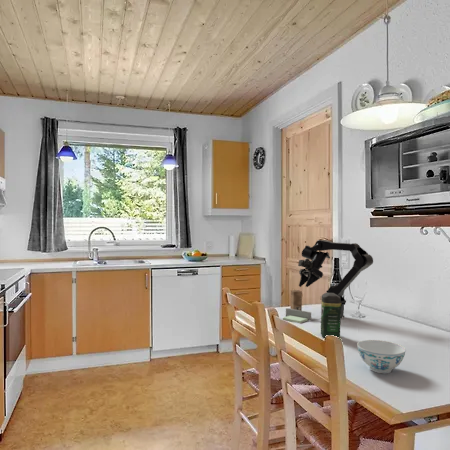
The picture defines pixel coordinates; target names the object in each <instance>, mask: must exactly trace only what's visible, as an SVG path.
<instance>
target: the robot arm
mask: <svg viewBox="0 0 450 450" xmlns="http://www.w3.org/2000/svg"><path fill="white" fill-rule="evenodd" d="M332 250H335V251H345V252H346V251H348V252H350V253H351V256H352V257H353V259H354V261H353V265H352V267H351V268H350V270H348V272H347V273H346V274H345V275H344V277H342V279H341V280H340V281H339V282H338V283H337V285H330V287H329V288H328V289H327V290H326V291H325V293H335V294H336V295H338V296H339V297H340V298H341V319H343V318H345V317H346V316H345V315H344V307H345V305H346V303H347V300H346V299H345V298H344V295H345V290H347V288H348V287H349V286H350V285H351V284H352V283H353V282H354V280H356V278H357V277H358V275H360V273H362V272H363V271H365V270H366V269H368V268H369V267H370V266H371V265H373V263H374V258H373V256H372V255H371V254H369V253H368V252H367V250H365V249H364V248H362V247H361V246H360V244H359V243H356V242H355V243H349V242H346V243H345V242H336V241H335V242H334V241H331V240H328V239H317V240H316V241H315V243H314V245H313V246H310V245H305V247H304V248H303V249H302V250H301V257H302V258H304V259H298V267H301V268H300V269H299V271H298V272H299V275H300V280H299V283H298V286H299V287H300V288H301V287H302V286H303V285H305V287H306V288H308V287H309V286H311V285H312V284H314V283H315V282H317V281H318V280H320V279H322V278H323V276H324V273H323V272H322V271H321V270H320V269H322V268H323V264H324V262H325V261H326V259H329V260H330V259H331V256H330V252H328V251H332ZM325 251H326V252H325ZM342 317H343V318H342Z"/></svg>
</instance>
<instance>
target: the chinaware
mask: <svg viewBox="0 0 450 450" xmlns="http://www.w3.org/2000/svg"><path fill="white" fill-rule="evenodd" d="M356 346H357V351H358V353H359V357H360V358H361V359H362V361H363V362H364V363H365V364H366V365H367V366H369V370H371V371H372V372H374V373H379V374H390V373H392V370H394V369H395V368H397V367H399V365H400V364H401V363H402V362H403V360H404V358H405V355H406V351H407V350H406V348H405V346H402V345H400V344H398V343H396V342H391V341H386V340H379V339H378V340H377V339H376V340H375V339H367V340H366V339H365V340H361V341H358V342H357V343H356Z"/></svg>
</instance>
